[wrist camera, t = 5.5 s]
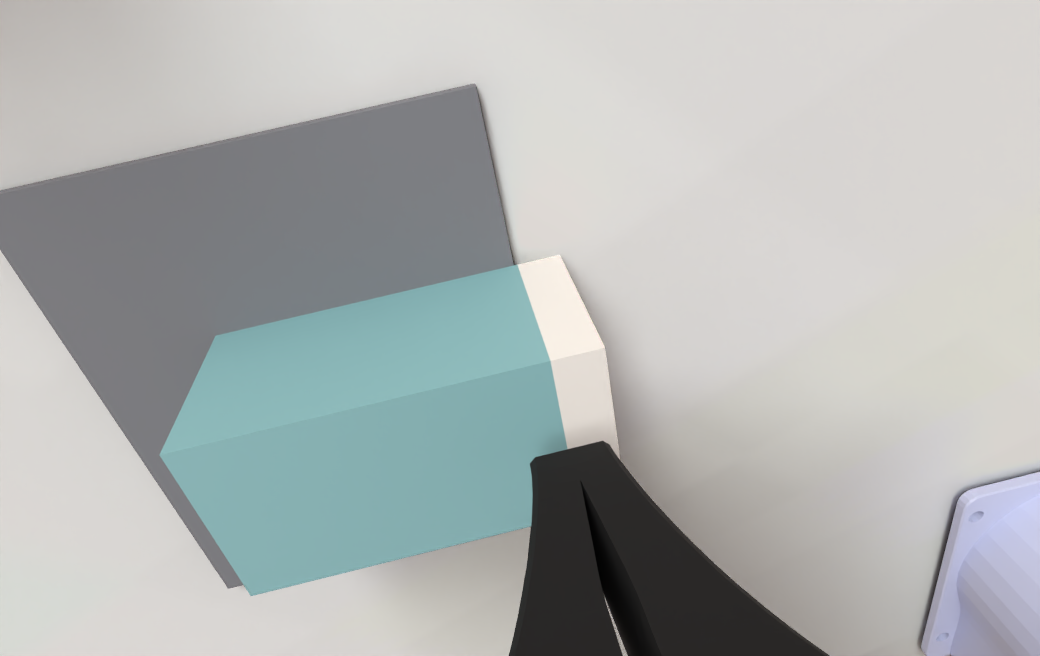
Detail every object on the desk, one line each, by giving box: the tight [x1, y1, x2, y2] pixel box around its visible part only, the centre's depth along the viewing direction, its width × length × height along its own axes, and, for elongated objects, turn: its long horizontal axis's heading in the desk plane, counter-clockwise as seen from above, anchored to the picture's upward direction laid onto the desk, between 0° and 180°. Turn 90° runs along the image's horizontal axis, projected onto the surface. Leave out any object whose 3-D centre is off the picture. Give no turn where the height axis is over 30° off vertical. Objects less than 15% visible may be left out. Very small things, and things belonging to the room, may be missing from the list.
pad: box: [0, 84, 514, 589], centre depth 16 cm, size 12×10×1 cm
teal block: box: [160, 255, 621, 596], centre depth 14 cm, size 4×4×8 cm
